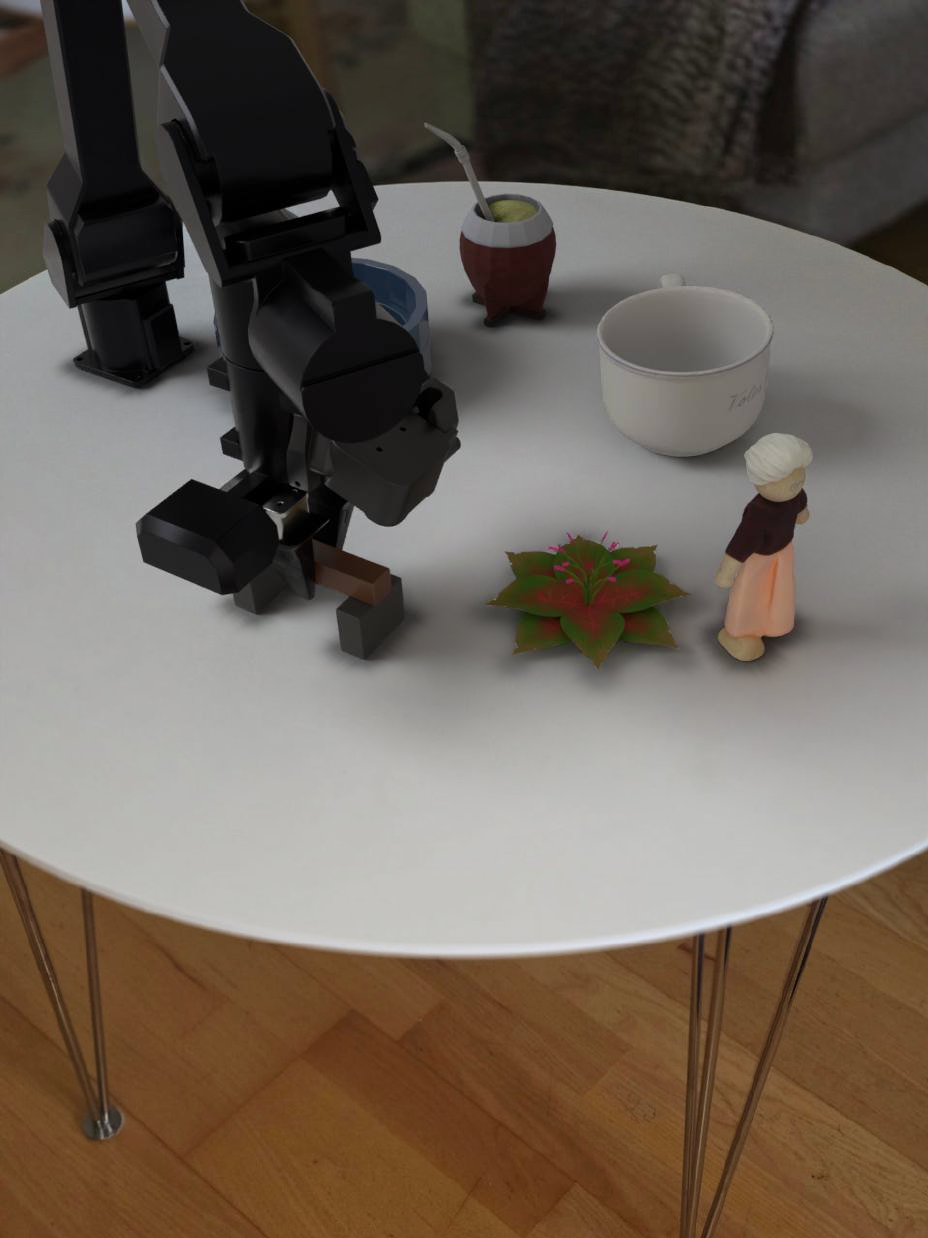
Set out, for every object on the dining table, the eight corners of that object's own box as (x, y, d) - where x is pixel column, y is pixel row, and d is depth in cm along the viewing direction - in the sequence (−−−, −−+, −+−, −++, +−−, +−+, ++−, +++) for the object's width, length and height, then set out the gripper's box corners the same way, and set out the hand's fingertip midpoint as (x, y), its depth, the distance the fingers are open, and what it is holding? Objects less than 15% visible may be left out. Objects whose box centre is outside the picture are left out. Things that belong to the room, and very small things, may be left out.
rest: (234, 605, 79) (226, 565, 77) (277, 567, 81) (271, 527, 79) (364, 660, 75) (359, 619, 73) (405, 618, 77) (401, 577, 75)
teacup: (756, 485, 85) (770, 373, 80) (584, 470, 87) (586, 360, 82) (765, 369, 96) (778, 264, 90) (610, 359, 97) (614, 255, 92)
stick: (237, 552, 77) (233, 529, 76) (255, 537, 78) (251, 514, 77) (375, 607, 73) (373, 584, 72) (392, 590, 74) (390, 567, 73)
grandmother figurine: (763, 683, 72) (791, 487, 64) (696, 658, 74) (715, 464, 65) (816, 600, 77) (849, 408, 69) (752, 579, 79) (777, 389, 70)
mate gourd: (571, 299, 104) (574, 102, 94) (519, 345, 99) (516, 142, 89) (488, 277, 107) (482, 84, 98) (433, 321, 103) (421, 123, 93)
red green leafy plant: (679, 537, 82) (684, 474, 79) (710, 675, 73) (717, 609, 70) (478, 546, 82) (476, 483, 79) (485, 684, 73) (482, 620, 70)
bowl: (183, 397, 96) (169, 326, 92) (310, 307, 105) (301, 240, 101) (351, 454, 90) (343, 382, 86) (470, 354, 99) (467, 284, 95)
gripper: (292, 487, 57) (331, 745, 67) (521, 297, 69) (524, 542, 79) (98, 416, 62) (162, 667, 72) (343, 250, 73) (367, 486, 84)
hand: (315, 587), depth 77 cm, fingers closed on stick, 1 cm apart
